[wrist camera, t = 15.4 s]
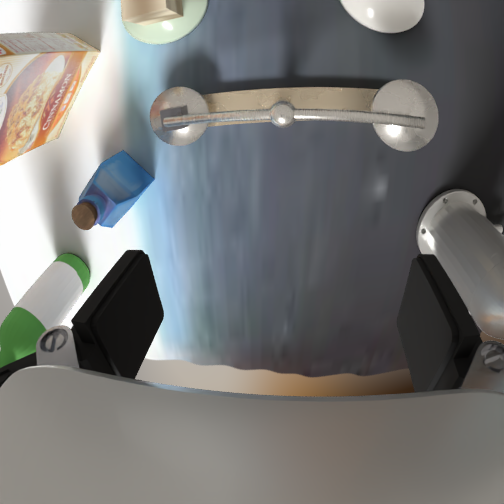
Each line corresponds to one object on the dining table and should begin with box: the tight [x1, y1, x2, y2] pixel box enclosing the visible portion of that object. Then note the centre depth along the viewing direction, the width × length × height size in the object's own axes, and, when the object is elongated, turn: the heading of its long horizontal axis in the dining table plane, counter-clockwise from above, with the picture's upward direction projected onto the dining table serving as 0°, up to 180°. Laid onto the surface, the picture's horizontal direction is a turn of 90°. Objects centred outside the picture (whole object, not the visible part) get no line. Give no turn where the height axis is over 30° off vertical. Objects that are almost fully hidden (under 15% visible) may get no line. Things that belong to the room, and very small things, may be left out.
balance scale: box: [150, 80, 438, 151], centre depth 28 cm, size 30×7×15 cm, turn 95°
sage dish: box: [121, 0, 208, 45], centre depth 28 cm, size 11×11×1 cm
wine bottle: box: [0, 253, 90, 368], centre depth 38 cm, size 8×8×30 cm
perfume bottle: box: [72, 150, 155, 230], centre depth 36 cm, size 6×6×12 cm
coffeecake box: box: [0, 33, 100, 166], centre depth 25 cm, size 15×7×20 cm, turn 141°
